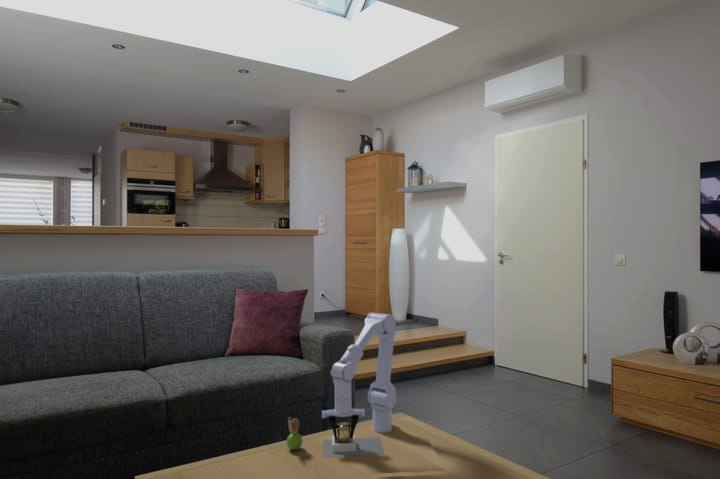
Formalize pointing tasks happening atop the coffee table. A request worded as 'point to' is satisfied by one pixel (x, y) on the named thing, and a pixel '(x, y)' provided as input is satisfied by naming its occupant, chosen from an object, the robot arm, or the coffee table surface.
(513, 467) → the coffee table surface
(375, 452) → the fitting board
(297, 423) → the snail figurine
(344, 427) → the brass door knob
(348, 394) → the robot arm
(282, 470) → the coffee table surface
